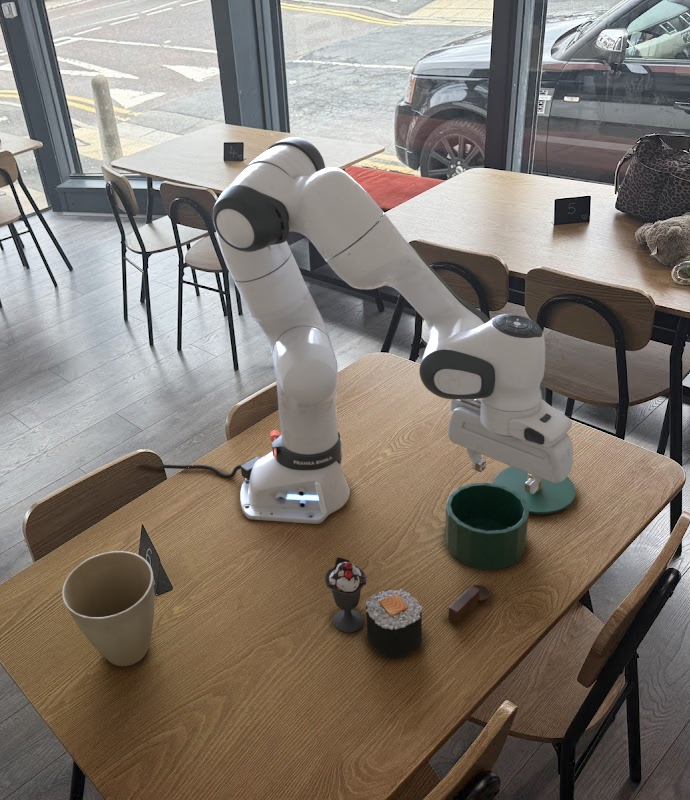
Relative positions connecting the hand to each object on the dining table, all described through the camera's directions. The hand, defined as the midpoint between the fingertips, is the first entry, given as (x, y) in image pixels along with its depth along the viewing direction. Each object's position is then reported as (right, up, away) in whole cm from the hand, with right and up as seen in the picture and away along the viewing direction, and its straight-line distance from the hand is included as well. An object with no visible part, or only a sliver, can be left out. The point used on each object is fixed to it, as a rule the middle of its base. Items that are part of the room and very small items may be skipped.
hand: (504, 479), depth 132 cm
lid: (+14, -4, +21) cm, 25 cm away
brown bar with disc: (-6, -21, 0) cm, 22 cm away
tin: (+1, -13, +12) cm, 17 cm away
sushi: (-19, -26, -3) cm, 32 cm away
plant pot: (-64, -30, +3) cm, 70 cm away
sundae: (-26, -24, +1) cm, 36 cm away
